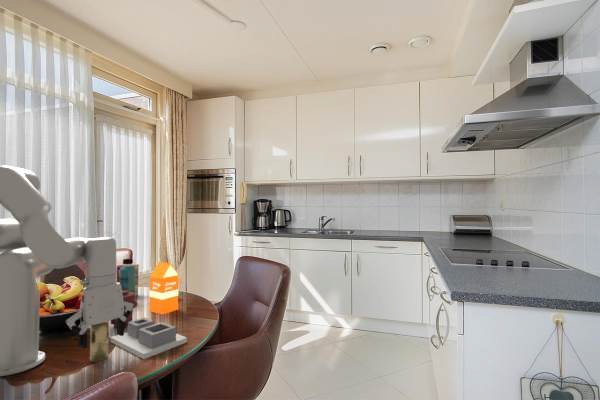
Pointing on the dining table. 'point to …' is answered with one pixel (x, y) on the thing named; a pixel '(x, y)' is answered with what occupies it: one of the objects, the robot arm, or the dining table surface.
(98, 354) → the brass pipe fitting
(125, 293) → the mechanical component
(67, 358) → the dining table surface
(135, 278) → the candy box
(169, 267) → the orange juice
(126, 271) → the beverage bottle
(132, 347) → the plate
